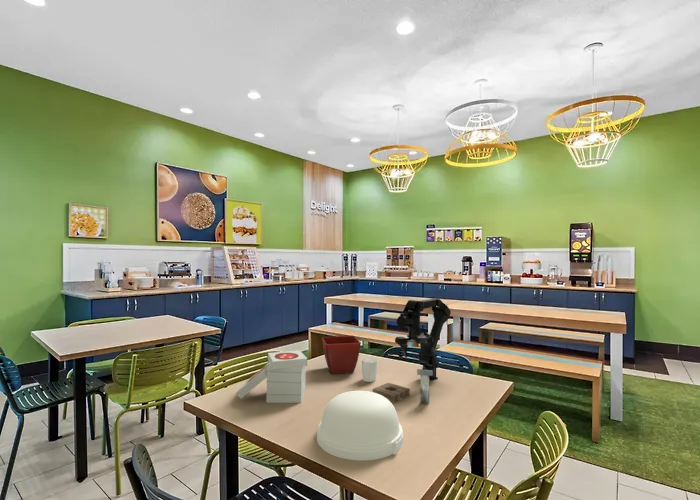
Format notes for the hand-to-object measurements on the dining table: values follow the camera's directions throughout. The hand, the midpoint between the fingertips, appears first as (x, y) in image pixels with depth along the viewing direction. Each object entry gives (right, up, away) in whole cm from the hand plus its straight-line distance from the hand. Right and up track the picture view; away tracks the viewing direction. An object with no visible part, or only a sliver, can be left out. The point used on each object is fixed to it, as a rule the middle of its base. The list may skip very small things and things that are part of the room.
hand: (414, 357), depth 180 cm
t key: (0, -12, -25) cm, 27 cm away
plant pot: (-37, -14, +20) cm, 45 cm away
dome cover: (-28, -12, -55) cm, 63 cm away
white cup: (-22, -13, +5) cm, 26 cm away
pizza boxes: (-66, -12, -18) cm, 69 cm away
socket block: (-13, -12, -17) cm, 25 cm away
